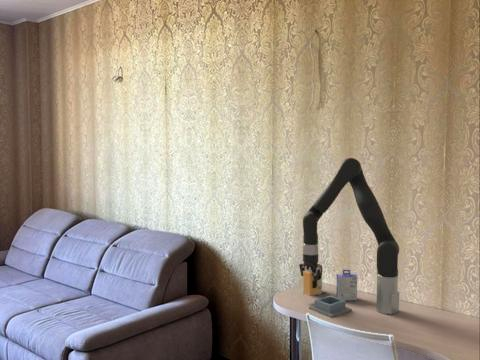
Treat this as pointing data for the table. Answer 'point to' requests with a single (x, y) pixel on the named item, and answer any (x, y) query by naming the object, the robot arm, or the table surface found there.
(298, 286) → the table surface
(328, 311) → the holder
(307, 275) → the connector plug
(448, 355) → the table surface
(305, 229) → the robot arm
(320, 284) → the coffee can
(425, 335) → the table surface
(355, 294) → the ink cartridge box
